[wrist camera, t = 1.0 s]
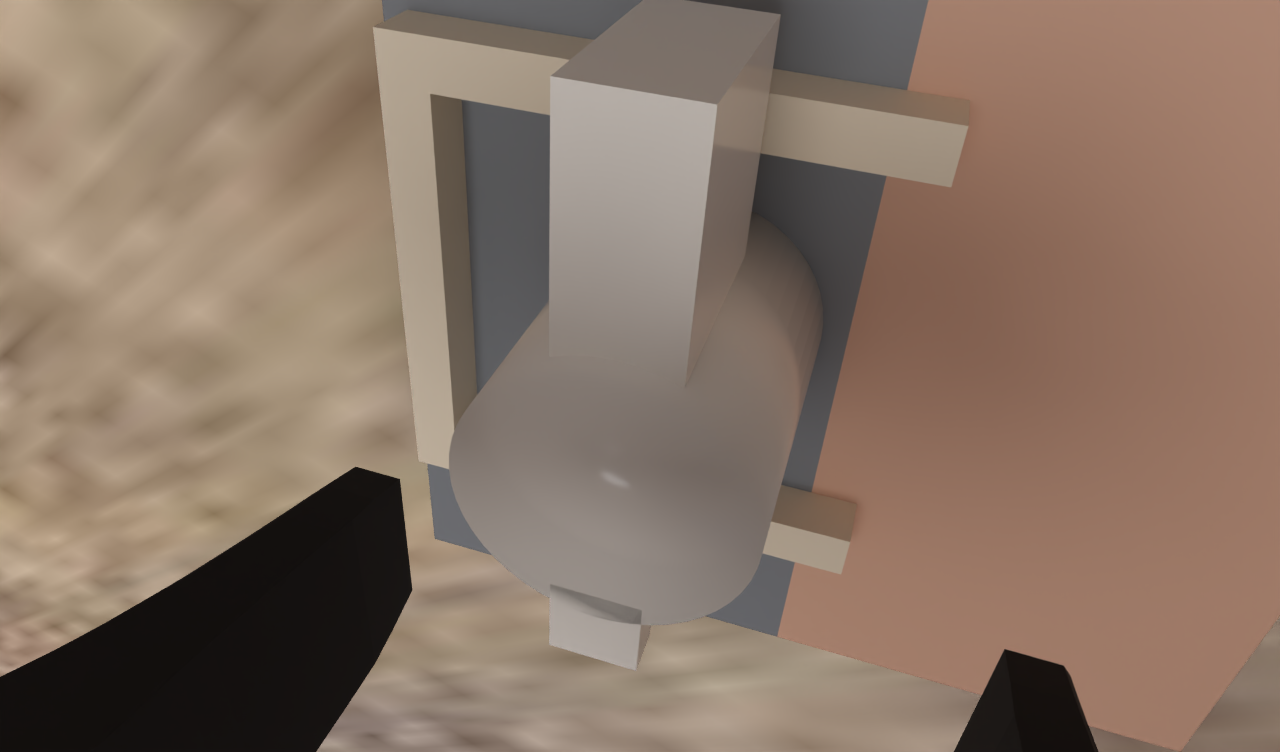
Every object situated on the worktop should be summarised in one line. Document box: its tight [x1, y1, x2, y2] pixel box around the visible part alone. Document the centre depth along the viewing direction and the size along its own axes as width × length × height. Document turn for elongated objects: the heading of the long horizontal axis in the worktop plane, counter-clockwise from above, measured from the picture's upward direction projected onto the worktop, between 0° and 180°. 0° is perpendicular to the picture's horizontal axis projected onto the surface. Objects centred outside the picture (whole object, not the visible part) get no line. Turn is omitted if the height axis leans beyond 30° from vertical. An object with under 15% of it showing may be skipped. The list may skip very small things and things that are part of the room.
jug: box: [449, 0, 823, 671], centre depth 16 cm, size 10×5×6 cm, turn 176°
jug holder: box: [373, 0, 1280, 752], centre depth 18 cm, size 18×19×2 cm
